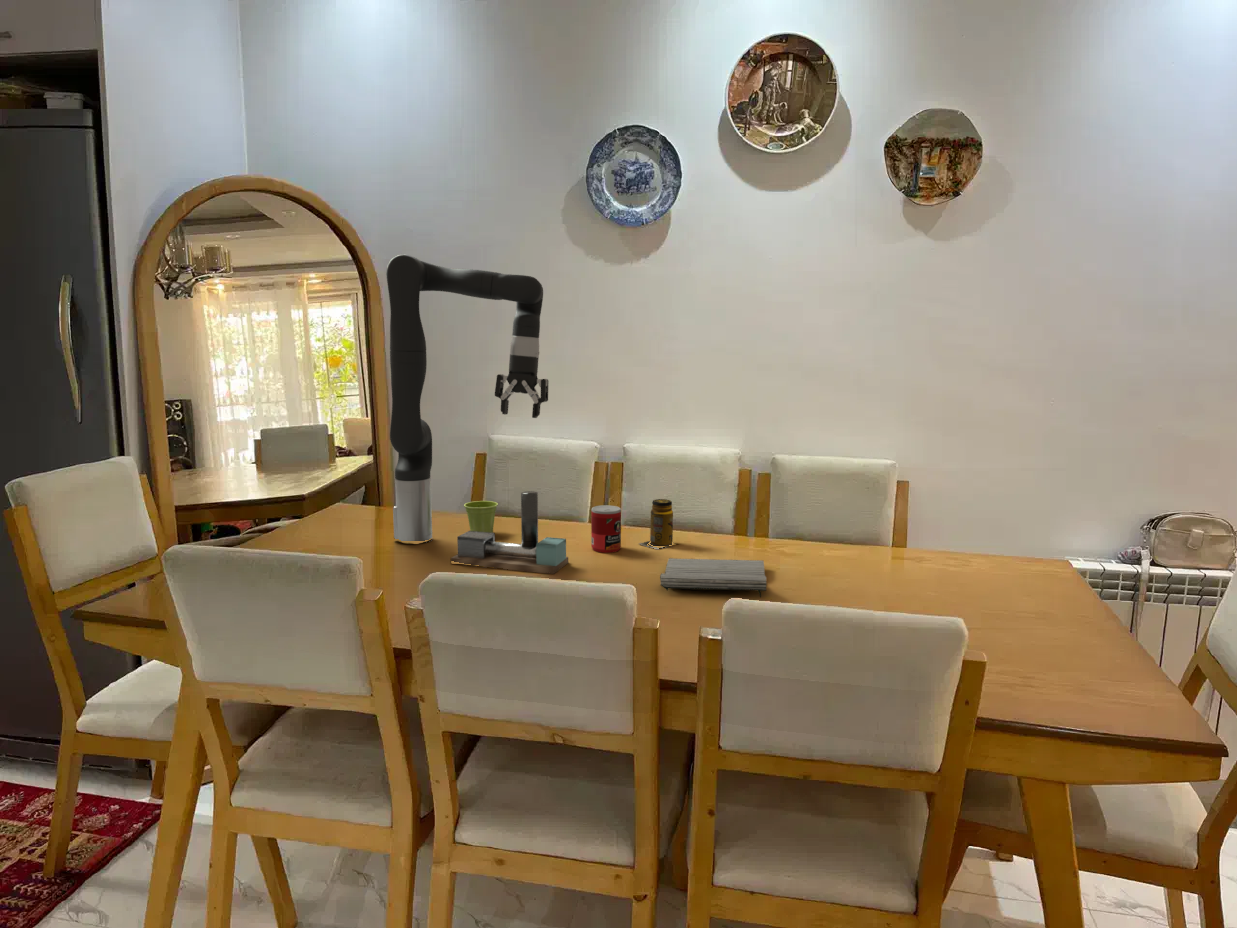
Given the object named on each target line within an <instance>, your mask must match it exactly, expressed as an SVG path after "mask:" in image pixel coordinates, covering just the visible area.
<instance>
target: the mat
mask: <svg viewBox="0 0 1237 928" xmlns="http://www.w3.org/2000/svg"><path fill="white" fill-rule="evenodd" d="M664 571H665V572H664V573H663V572H661V573H660V577H659V579H660V586H661V588H664V589H665V590H666V591H667V592H668V590H669V589H673V590H677V589H678V590H719V591H720V590H726V591H756V592H758V594H759V597H760V598H762V595H761V592H766V591H767V576H766V572H765V571H766V570H765V563H764V560H762V559H761V560H759V559H757V560H754V559H753V560H752V559H751V560H749V559H747V560H746V559H713V558H712V559H710V558H709V559H708V558H706V559H705V558H673V557H672V558H671V557H670V558H668V560H667V563H666V567H665V570H664Z"/></svg>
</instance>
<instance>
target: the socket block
mask: <svg viewBox="0 0 1237 928" xmlns="http://www.w3.org/2000/svg"><path fill="white" fill-rule="evenodd" d="M566 557H567V538H564V537H563V538H561V537H548V536H546V537H544V538H543V539H541V540H540V541H538V543H537V544H536V561H537V564H539V565H550V566H557V565H558V564H560V563H561V562H562V561H564V560H565V559H566Z"/></svg>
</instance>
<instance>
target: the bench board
mask: <svg viewBox="0 0 1237 928" xmlns="http://www.w3.org/2000/svg"><path fill="white" fill-rule="evenodd" d="M451 561H454V562H459V563H464V564H471V565H479V566H484V567H483V568H487V567H494V568H493V569H497V568H503V569H502V570H507V569H508V570H510V571H518V572H519V571H521V572H529V573H530V572H531V573H538V574H550V575H551V574H552V575H555V574H556V573H557V572H558V571H560V570H561V569H562V568H564V567H565V566H566V565H568V564H569V556H566V559H565V560H564V561H562V562H561V563H560V564H558V565H557V566H550V565H539V564H537V561H536V559H535V558H524V557H514V556H503V555H492V554H485V558H484V559H479V558H469V557H458V553H457V554H456V555H454V556H452V557H450V562H451ZM508 570H507V571H508Z"/></svg>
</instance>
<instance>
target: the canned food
mask: <svg viewBox="0 0 1237 928" xmlns="http://www.w3.org/2000/svg"><path fill="white" fill-rule="evenodd" d="M590 515H591V516H590V517H591V518H590V519H591V521H590V522H591V524H590V526H591V527H590V529H591V531H590V532H591V533H590V534H591V536H590V537H591V550H592V551H594V552H596V553H604V554H610V553H611V554H612V553H617V552H619V551H620V550H621V547H622V546H621V545H622V544H621V542H622V541H621V540H622V508H621V507H619V506H617V505H606V504H605V505H604V504H603V505H596V506H593V507H592V508H591V514H590Z"/></svg>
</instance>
